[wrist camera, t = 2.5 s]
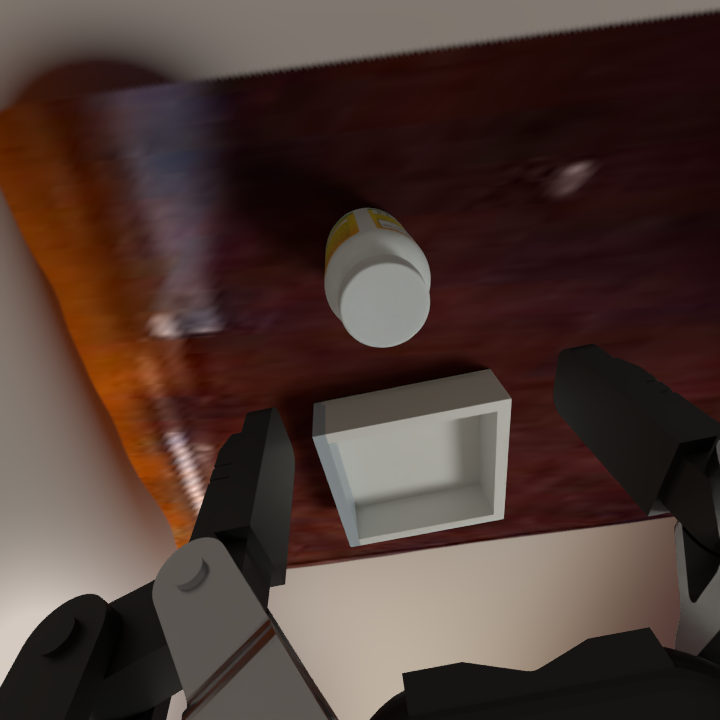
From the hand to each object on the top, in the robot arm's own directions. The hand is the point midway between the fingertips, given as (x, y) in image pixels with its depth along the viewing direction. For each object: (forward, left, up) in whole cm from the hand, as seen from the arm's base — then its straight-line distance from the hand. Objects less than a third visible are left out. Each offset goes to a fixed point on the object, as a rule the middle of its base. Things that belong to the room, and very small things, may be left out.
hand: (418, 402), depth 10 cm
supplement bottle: (0, 0, -16) cm, 16 cm away
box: (-1, +19, -16) cm, 25 cm away
